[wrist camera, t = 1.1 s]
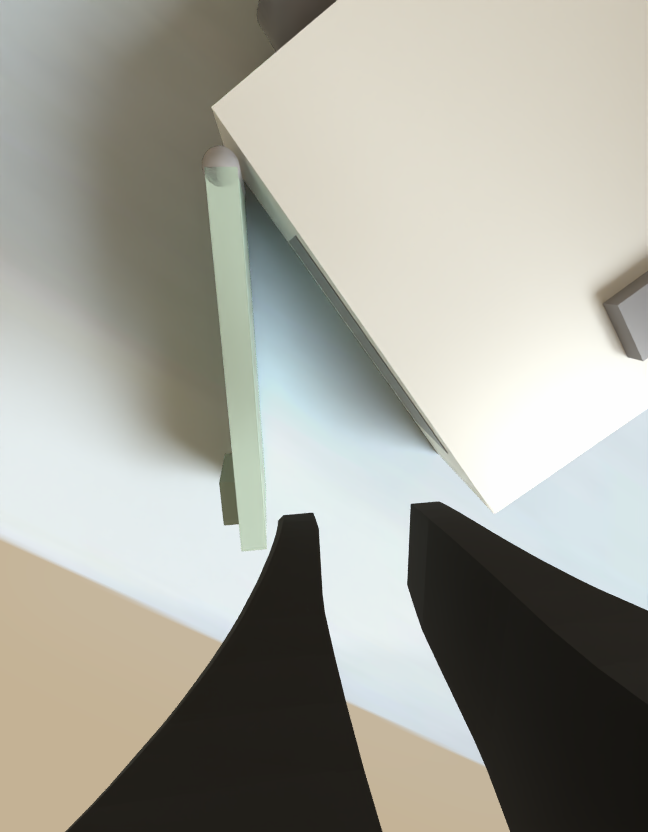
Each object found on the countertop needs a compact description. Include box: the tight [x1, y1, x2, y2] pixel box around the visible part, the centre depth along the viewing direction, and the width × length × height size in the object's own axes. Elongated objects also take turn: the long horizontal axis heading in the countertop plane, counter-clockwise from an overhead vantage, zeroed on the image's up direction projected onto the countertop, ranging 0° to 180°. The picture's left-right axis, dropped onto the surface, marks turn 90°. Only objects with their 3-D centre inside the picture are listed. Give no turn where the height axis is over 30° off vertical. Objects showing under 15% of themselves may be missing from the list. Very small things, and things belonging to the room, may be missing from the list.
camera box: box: [211, 0, 648, 514], centre depth 14 cm, size 10×16×6 cm, turn 37°
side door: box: [202, 146, 267, 551], centre depth 15 cm, size 2×11×4 cm, turn 1°
